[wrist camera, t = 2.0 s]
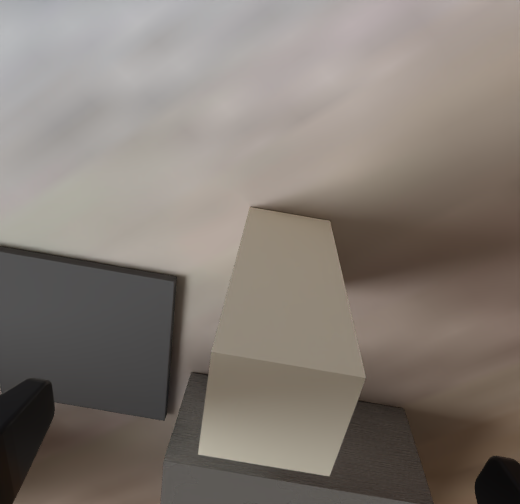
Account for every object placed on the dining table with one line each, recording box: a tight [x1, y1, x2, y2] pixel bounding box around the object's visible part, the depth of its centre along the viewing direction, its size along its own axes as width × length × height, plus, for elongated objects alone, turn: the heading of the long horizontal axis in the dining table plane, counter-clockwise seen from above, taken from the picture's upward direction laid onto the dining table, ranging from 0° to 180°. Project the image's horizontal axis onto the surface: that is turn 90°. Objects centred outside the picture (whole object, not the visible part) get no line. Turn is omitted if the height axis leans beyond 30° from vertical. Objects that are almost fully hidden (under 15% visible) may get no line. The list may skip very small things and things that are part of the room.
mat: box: [0, 246, 177, 421], centre depth 18 cm, size 8×8×1 cm
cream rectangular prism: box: [198, 207, 366, 477], centre depth 12 cm, size 3×3×8 cm
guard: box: [161, 373, 434, 504], centre depth 19 cm, size 10×10×4 cm
